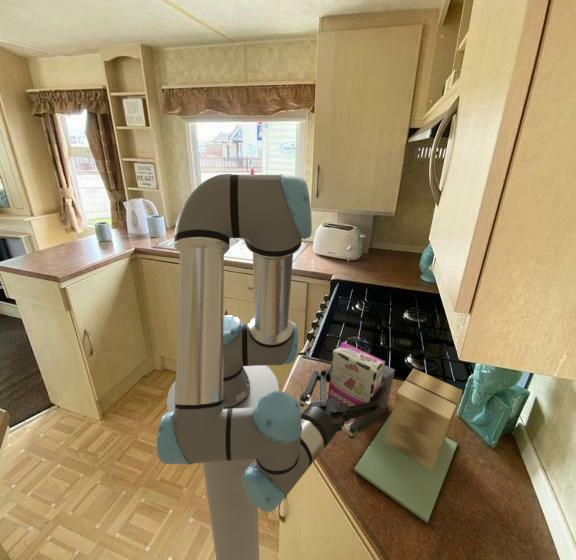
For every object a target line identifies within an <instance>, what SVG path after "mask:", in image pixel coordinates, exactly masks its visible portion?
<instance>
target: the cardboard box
mask: <svg viewBox="0 0 576 560" xmlns="http://www.w3.org/2000/svg"><path fill="white" fill-rule="evenodd" d="M463 391H464V390H463V389H460V388H458V387H456V386H454V385H452V384H449V383H447V382H445V381H443V380H441V379H439V378H436V377H434V376H432V375H429V374H427V373H425V372H423V371H421V370H418V369H416V368H412V370H411V371H410V373H409V374H408V376H407V378H406V379H405V380H404V381H403V382H402V385H401V386H400V387H399V389H398V390H397V391H396V395H395V399H394V403H393V408H392V411H393V412H391V413H392V416H391V420H390V425H389V429H388V433H387V438H386V443H388V444H389V445H391V446H393V447H394V448H396V449H397V450H399V451H401V452H402V453H404V454H405V455H407V456H409V457H410V458H412V459H414V460H415V461H417V462H418V463H420V464H422V465H423V466H425V467H426V468H428V469H430V470H431V471H433V469H434V466H435V464H436V462H437V459H438V457H439V454H440V452H441V450H442V448H443V445H444V443H445V440H446V438H448V435H449V431H450V430H451V427H452V423H453V420H454V418H455V415H456V412H457V409H458V406H459V404H460V400H461V397H462V395H463Z"/></svg>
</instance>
